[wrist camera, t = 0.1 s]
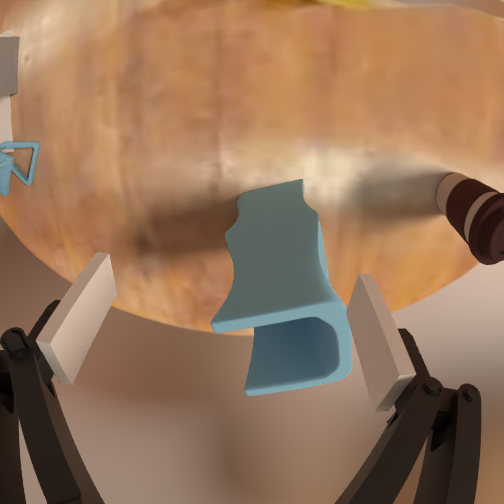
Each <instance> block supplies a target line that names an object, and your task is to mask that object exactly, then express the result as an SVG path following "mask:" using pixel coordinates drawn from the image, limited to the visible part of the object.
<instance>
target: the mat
mask: <svg viewBox="0 0 504 504" xmlns="http://www.w3.org/2000/svg"><path fill="white" fill-rule="evenodd" d="M0 37H13V29H11V30H8V31H6V32H4V33H2V34H0ZM5 141H10V142H13V137H12V125H11V105H10V95H8V96H3V97H0V144H1V143H3V142H5ZM1 151H3V152H4V153H8V152H13V151H14V148H11V149H9V148H5V149H2V150H1Z"/></svg>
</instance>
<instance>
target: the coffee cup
mask: <svg viewBox="0 0 504 504" xmlns="http://www.w3.org/2000/svg"><path fill="white" fill-rule="evenodd" d="M436 202H437V205H438V208H439V209H440V211H441V212H442V213H443V214H444V215H445V216H446V217H447V219H448V221H449V222H450V224H451V225H452V226H453V227H454V228H455V230H456V231H457V232H458V233H459V234H460V236H461V237H462V238H463V239H464V240H465V242H466V243H467V244H468V245H469V248H470V251H471V253H472V254H473V255H474V257H475V258H476V259H477V260H478V261H479V262H480V263H482V264H485V265H492V264H496V263H498V262H500V261H503V260H504V193H500V192H498V191H497V190H495V189H493V188H491V187H489V186H487V185H485V184H483V183H482V182H480V181H478V180H475V179H471V178H469V177H467V176H465V175H463V174H460V173H453V174H450V175H448V176H446V177H445V178H444V179H443V180H442V181H441V183H440V184H439V186H438V189H437V193H436Z"/></svg>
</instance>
